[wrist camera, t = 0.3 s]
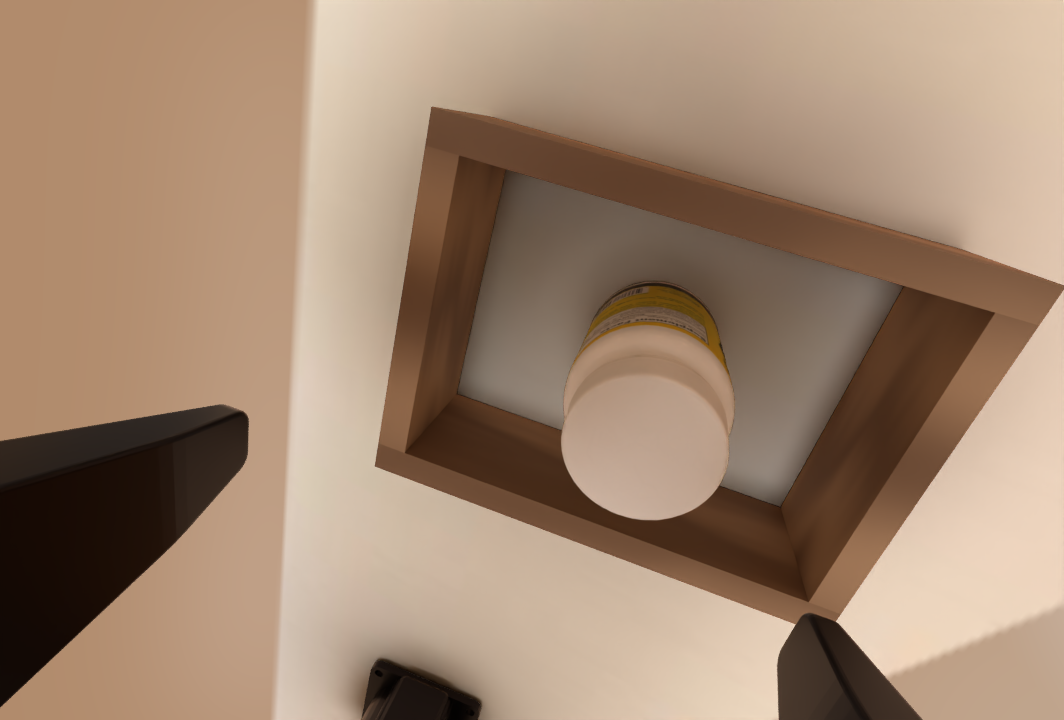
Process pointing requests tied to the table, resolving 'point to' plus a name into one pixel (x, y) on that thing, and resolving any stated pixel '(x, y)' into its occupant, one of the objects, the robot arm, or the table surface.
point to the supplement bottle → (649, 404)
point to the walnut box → (726, 516)
